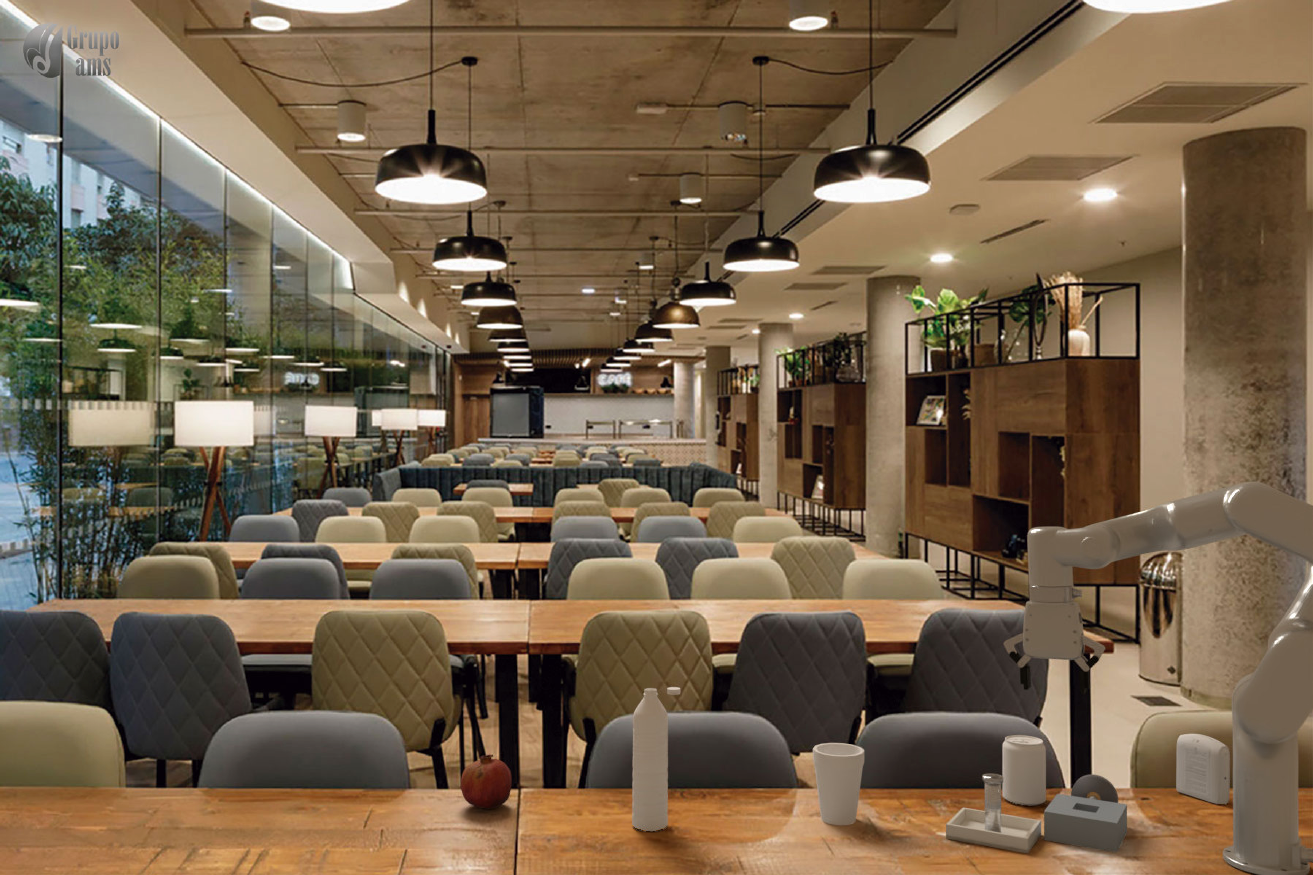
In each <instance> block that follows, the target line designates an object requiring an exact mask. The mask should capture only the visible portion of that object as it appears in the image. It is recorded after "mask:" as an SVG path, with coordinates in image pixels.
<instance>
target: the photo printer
mask: <svg viewBox="0 0 1313 875" xmlns="http://www.w3.org/2000/svg"><path fill="white" fill-rule="evenodd" d="M1230 754H1231V753H1230V748H1229V747H1228V746H1227V745H1226V744H1224V743H1223V742H1222V741H1220V740H1218V739H1216V738H1213V737H1211V736H1208V735H1204V734H1200V733H1185V734H1180V735H1179V737H1177V741H1176V764H1175V765H1176V767H1175V768H1176V773H1175V775H1176V776H1175V778H1176V779H1175V780H1176V781H1175V782H1176V785H1175V786H1176V791H1177V792H1178V793H1181V794H1184V795H1187V796H1190V797H1194V798H1197V799H1200V800H1203V801H1206V802H1208V803H1213V804H1216V805H1218V804H1225V805H1227V803H1228V804H1229V802H1230V796H1231V793H1230V791H1231V790H1230V789H1231V788H1230V785H1231V783H1230V782H1231V781H1230V780H1231V779H1230V778H1231V777H1230V775H1231V772H1230V771H1231V767H1230V766H1231V758H1230V757H1231V755H1230Z"/></svg>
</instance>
